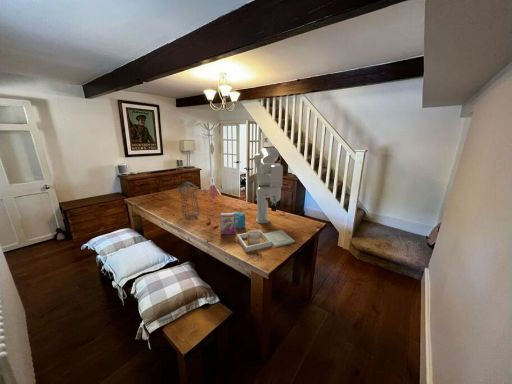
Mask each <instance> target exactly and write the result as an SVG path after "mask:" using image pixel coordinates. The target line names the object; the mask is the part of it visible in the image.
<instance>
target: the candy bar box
mask: <svg viewBox="0 0 512 384" xmlns="http://www.w3.org/2000/svg"><path fill="white" fill-rule="evenodd" d="M219 217H220V218H219V219H220V222H219V223H220V224H219V226H220V234H221V235H235V234H236V227H235V213H233V212H220V214H219Z"/></svg>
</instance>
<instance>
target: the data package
mask: <svg viewBox="0 0 512 384" xmlns="http://www.w3.org/2000/svg"><path fill="white" fill-rule="evenodd" d="M232 213H235V228H237V229H244V228H245V227H246V214H245V213H244V212H238V211H233V212H232Z"/></svg>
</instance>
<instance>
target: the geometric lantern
mask: <svg viewBox="0 0 512 384" xmlns="http://www.w3.org/2000/svg"><path fill="white" fill-rule="evenodd" d="M191 186H192V187H193V188H192V187H191ZM199 188H200V187H198V186H197V185H195V184H193V183H191V182H189V181H184V182H183V183H182V184H181V185H179V186H177V187H176V189H177V190H178V191H179V193H180V194H181V195H180V200H181V201H180V202H182V205H181V213H182V214H183V216H184V217H185V218H186V219H188V220H190V219H191V220H193V219H196V218H198V215H200V208H199V203H198V201H197V200H198V198H197V197H198V196H197V194H196V193H195V192H196V191H197V190H198V189H199ZM184 193H186V194H184ZM185 195H186V197H184V196H185ZM189 195H191V196H190V197H188V196H189ZM187 199H192V200H191V206H192V209H189V207H188V201H187ZM193 203H194V204H193ZM185 205H186V207H185ZM194 205H195V206H194ZM186 209H187V210H186ZM190 211H193V212H191V213H189V212H190ZM195 212H197V213H195ZM191 214H192V215H191ZM193 217H194V218H193ZM191 220H190V221H191Z"/></svg>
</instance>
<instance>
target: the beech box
mask: <svg viewBox="0 0 512 384" xmlns="http://www.w3.org/2000/svg"><path fill="white" fill-rule="evenodd" d="M258 230H259V229H254V230H250V231H247V232H246V233H247V239H246V241H247V244H249V245H248V246H251V245H255V244H260V243H261V236H260V232H259V231H258Z"/></svg>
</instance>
